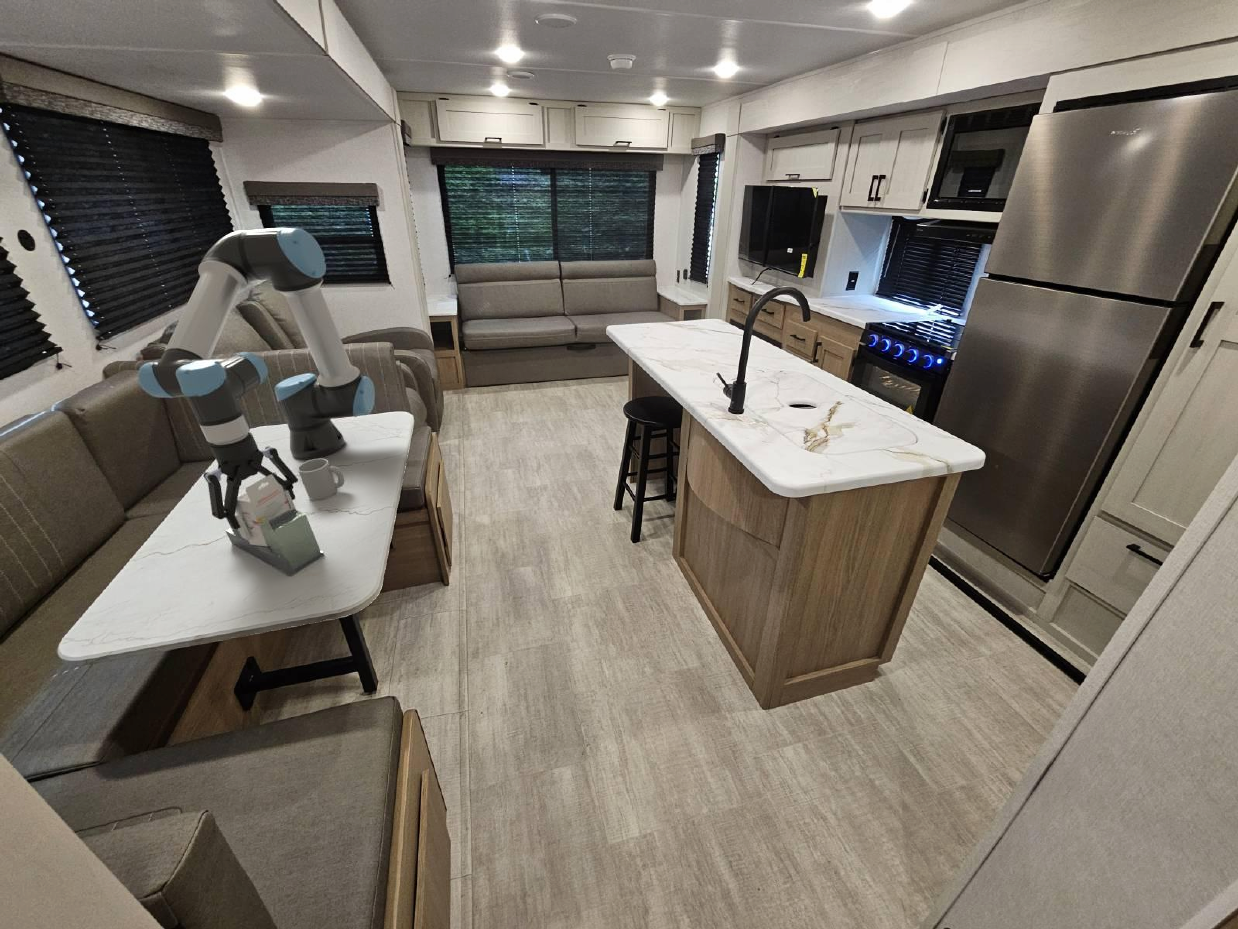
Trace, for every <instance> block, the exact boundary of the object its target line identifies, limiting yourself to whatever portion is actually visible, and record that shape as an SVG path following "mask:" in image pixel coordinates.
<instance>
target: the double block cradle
mask: <svg viewBox="0 0 1238 929" xmlns="http://www.w3.org/2000/svg"><path fill="white" fill-rule="evenodd" d="M245 492H246V491H243V492H242V493H238V496H240V495H241V494H243V493H245ZM223 506H224V501H223ZM235 512H236V513H237V510H236V511H235ZM226 521H227V522H228V520H227V519H226ZM228 524H229V522H228ZM260 526H261V528H262V530H263V532H264V534H265V536H266V538H267V540H268V543H269V545H270V546H259V545H250V542H249V541H248V540H246V539H244V538H243V537H242V536H241V534H240V532H239V530H238V529H234V528H232V527H231V526H230V528H229V527H228V528H227V529H225V530H224V532H225V533H226V535H227V537H228V538H229V541H230V543H231V544H232V545H233V546H235V547H236V548H239V549H241V550H242V551H244V552H245V553H248V554H249V555H251V556H253V557H254V558H256V559H257V560H259V561H262V562H264V563H265V564H267V565H269V566H271V567H272V568H274V569H276V570H278V571H279V572H281V573H283V574H285V575H286V576H289V577H292V576H293V575H295V574H297V573H298V572H300V571H302V570H304V568H307V567H308V566H310V565H311V564H313V563H314V562H316V561H318V560H319V559H321V558H322V557H324V556H325V553H324V551H322V550H321V549H320V546H319V544H318V541H317V539H316V536H315V534H314V531H313V529H312V526H311V524H310V521H309V519H308V517H307V514H306V513H305V512H301V511H299V510H297V509H296V510H295V509H293V508H292V509H290V510H288V511H286V512H284V513H282V514H280V515H279V516H277V517H275V518H273V519H271V520H269V521H267V522H265V523H263V524H261V525H260Z"/></svg>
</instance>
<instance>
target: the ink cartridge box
mask: <svg viewBox="0 0 1238 929" xmlns="http://www.w3.org/2000/svg"><path fill="white" fill-rule="evenodd" d="M273 473H274V474H275V475H277V476H278V474H277V473H276V472H273ZM244 492H245V493H243V492H242V493H243V494H241V493H240V494H241V495H240V496H238V499H237V505H236V510H237V513H238V514H240V515H241V518H242V520H243V522H244V524H245V526H246V528H247V530H248V532H249V534H250V536H251V538H252V539H251V540H249V542H250V545H259V546H270V545H269V543H268V540H267V538H266V536H265V534H264V532H263V530H262V528H261V526H260V525H261V524H263V523H265V522H267V521H269V520H271V519H273V518H275V517H277V516H279V515H280V514H282V513H284V512H286V511H288V510H290V508H289V505H288V502H287V499H286V496H285V493H284V490H283V487H282V485H280V484H279V483H278V482H277V481H276V479H275V478H274V476H273V475H272V474H271V475H269V476H267V477H266V476H264V477H263V478H261V479H260V480H258V481H256V482H254V483H253V484H251V485H250V486H247V487H246V488H245V491H244Z"/></svg>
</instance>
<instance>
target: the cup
mask: <svg viewBox="0 0 1238 929" xmlns="http://www.w3.org/2000/svg"><path fill="white" fill-rule="evenodd" d="M297 471H298V472H297V473H298V474H299V476H300V480H301V481H302V485H303V486H304V488H305V492H306V494H307V496H308V498H309V499H310V500H312V501H322V500H327V499H329V498H332V497H333V496H334V495H336V494H337V492H338V489H340V488H341V487H343V486H344V485H345V475H344V473H343V471H342V470H341V469H340V468H339V467H337V466H334V465H330V464H329V460H328V459H325V458H314V459H308V460H307V461H305V462H303V463H301V464H299V465H298V466H297ZM334 475H336V477H337V481H336V480H335V477H334Z"/></svg>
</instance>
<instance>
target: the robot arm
mask: <svg viewBox="0 0 1238 929" xmlns="http://www.w3.org/2000/svg"><path fill="white" fill-rule="evenodd" d="M323 252H324V251H323V250H322V248H321V246H320V245H319V243H318V241H317V240H316V239H315V237H314V236H313V235H312V234H310V233H309V232H308V231H306V230H304V229H303V228H300V227H299V228H298V227H284V226H283V227H274V228H273V227H271V228H261V229H259V228H258V229H240V230H235V231H233V232H230V233H228V234H226V235H225V236H223V237H221V238H220V239H219V240H218V241H216V243H214V244H213V245H212V246H211V248H209V250H208V251H207V252H206V254H204V256H203V257H202V260H201V261H200V264H199V265H198V268H197V270H198V275H199V279H198V281H197V283H196V285H195V287H194V290H193V292H192V293H191V296H190V298H189V300H188V301H187V304H186V306H185V308H184V310H183V312H182V314H181V316H180V318H179V321H178V323H177V324H176V327H175V329H174V331H173V332H172V335H171V337H170V339H169V341H168V343H167V345H166V347H165V349H164V352H163V353H162V356H161V358H160V360H153V361H150V362H146V363H144V364H143V365H140V368H139V370H138V372H137V373H138V374H137V378H138V383H139V385H140V387H141V388H142V390H143V391H145V393H146V394H148V395H149V396H152V397H155V398H170V399H171V398H172V399H174V398H175V399H176V398H182V397H183V398H184V397H185V399H186V401H187V403H188V404H189V406H190V408H191V411H192V412H193V414H194V417H195V418H196V421H197V423H198V424H199V426H200V429H201V431H202V433H203V435H204V437H205V439H206V441H207V442H208V443H209V448H210V449H211V450H210V451H211V452H212V454H213V456H214V458H215V460H216V462H217V464H218V465H217V468H216V469H215V470H213V471H211V472H208V471H206V472H204V473H203V478H204V479H205V481H206V482H207V485H208V494H209V500H210V507H211V514H212V517H214V518H216V519H218V520H223V519H226V521H227V520H228V521H227V522H229V523H228V524H229V526H230V528H231V527H232V528H234V529H238V530H239V532H240V534H241V536H242V537H243V538H244V539H246V540H248V541H249V540H251V539H252V538H251V536H250V534H249V532H248V530H247V528H246V526H245V524H244V522H243V520H242V518H241V515H240V514H238V513H236V512H235V511H236V505H237V499H238V495H239V494H240V493H239V492H240V487H241V486H242V483H243V481H245V480H246V479H248V478H250V477H252V476H255V475H256V476H257V474H258V473H259V474H261V475H262V476H263V477H267V476H269V475H271V474H272V475H273V476H274V478H275V479H276V481H277V482H278V483H279V484H280V485H282V487H283V490H284V493H285V496H286V499H287V502H288V505H289V508H290V509H292V508H293V509H295V510H297V509H296V506H295V503H294V500H296V495H295V493H294V490H293V489H294V484H297V483H298V482H299V479H298V477H297V476H296V475H295V474H294V473H293V471H292V470H291V469H290V468H289V466H288V465H286V463H285V462H284V460H282V458H281V457H280V456H279V452H278V449H277V448H275V447H273V446H269V445H268V446H266V447H265V448H264V449H261V450H260V449H259V448H258V444H257V442H256V440H255V437H254V436H253V433H252V432H250V431H251V428H250V427H249V423H248V421H247V420H246V418H245V416H244V413H243V410H242V409H241V406H240V404H239V402H238V401H239V400H240V399H241V398H243V397H244V396H246V394H247V395H248V394H249V392H251V391H253V390H255V389H256V388H259V387H260V386H261V384H262V383H264V382H265V381H266V380H267V378H268V375H269V373H268V372H269V371H268V367H267V365H266V363H265V361H264V360H263V359H262V358H261V357H260V356H258V355H256V354H254V353H251V352H249V351H241V352H238V353H234V354H231V355H230V356H229V357H221V358H220V357H219V358H211V357H212V355H213V353H214V351H215V348H216V346H217V343H218V341H219V338H220V337H221V334H222V331H223V329H224V327H225V325H226V323H227V319H228V318H229V315H230V314H231V311H232V308H233V307H234V304H235V301H236V299H237V297H238V294H240V293H243V292H244V291H245V290H246V288H247V286H248V284H250V283H252V282H255V281H270V282H271V285H272V286H273V289H274V291H276V292H278V293H280V294H282V295H283V296H284V297H285V299H286V302H287V304H288V306H289V308H290V310H291V313H292V316H293V318H294V319H295V322H296V324H297V326H298V329H299V331H300V332H301V335H302V337H303V340H304V342H305V343H306V346H307V348H308V351H309V352H310V355H311V356H312V359H313V361H314V363H315V366H316V368H317V370H318V372H319V375H318V376H317V375H316V374H315V373H312V372H311V373H310V372H309V373H302V374H298V375H294V376H292V377H289V378H286V379H284V380H282V381H280V382H279V383H277V384H276V385H275V387H274V392H275V396H276V400H277V402H278V404H279V408H280V409H281V412H282V414H283V417H284V420H285V423H286V424H287V426H288V427H287V428H288V429H289V450H290V452H291V455H292V457H293V458H295V459H298V460H313V459H320V458H323V457H326V456H329V455H332V454H334V453H336V452H338V451H340V449H342V448H343V447H344V446H345V443H346V441H345V438H344V436H343V434H342V432H341V431H340V430H339V428H337V426H336V425H335V423H333V422H332V421H333V420H331V419H333V418H336V419H337V418H348V417H354V418H357V417H360V416H361V417H362V416H367V415H369V414H370V413H372V411H373V408H374V405H375V401H376V400H375V399H376V398H375V397H376V393H375V386H374V382H373V380H372V379H371V378H370V377H369V376H365V375H364V376H363V375H362V373H361V371H360V369H359V368H358V367H357V366H354V365H352V363H351V362H350V359H349V356H348V354H347V352H346V349H345V346H344V343H343V341H342V340H341V339H342V338H341V336H340V334H339V332H338V329H337V327H336V324H335V322H334V319H333V317H332V315H331V312H330V310H329V307H328V305H327V302H326V300H325V297H324V295H323V293H322V289H321V285H322V284H323V282H324V279H323V276H324V275H325V274H326V271H327V264H326V262H325V261H326V258H325V255H324V253H323ZM264 457H265V458H266V459H268V460H270V462H271V463H272V464H273V466H275V468H277V470H278V471H279V472H280V473H281V475H283V477H284V478H285V479H283V478H282V477H280V476H279V475H278V474H277V475H275V474H274V472H272V471H270V469H268V468H266V467H265V466H264V465H262V463H263V460H264ZM222 475H226V481H225V482H226V488H225V489H226V490H225V493H224V494H225V495H224V499H223V492H222V485H221V482H220V481H221V480H222V477H221V476H222ZM223 502H224V506H223ZM232 528H231V529H232Z"/></svg>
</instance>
